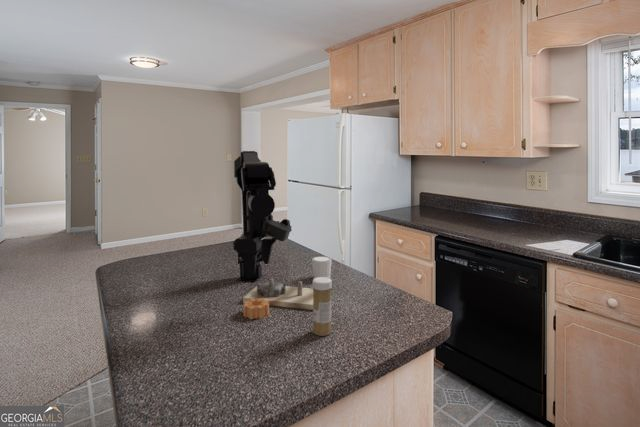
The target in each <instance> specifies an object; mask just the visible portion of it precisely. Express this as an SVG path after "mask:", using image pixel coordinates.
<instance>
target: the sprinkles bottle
mask: <svg viewBox="0 0 640 427" xmlns="http://www.w3.org/2000/svg"><path fill="white" fill-rule="evenodd" d="M332 282H333V281H332V279H331V277H330V278H327V277H317V278H314V277H313V279H312V288H313V310H312V311H313V312H312V314H313V315H312V316H313V317H312V318H313V329H312V332H313V334H314V335H316V336H320V337H324V336H325V337H326V336H329V335H330V334H332V326H331V325H332V324H331V323H332V288H333V285H332Z"/></svg>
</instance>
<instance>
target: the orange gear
mask: <svg viewBox="0 0 640 427" xmlns="http://www.w3.org/2000/svg"><path fill="white" fill-rule="evenodd" d="M242 309H243V311H242V313H243V317H244V318H249V320H253V319H259V320H261V319H263V318H264V317H266V316H267V317H268V316H269V315H270V305H269V301H268V300H265V299H263V298H259V299H250V300H248V301H245V302H244V303H243V305H242Z"/></svg>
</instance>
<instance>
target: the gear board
mask: <svg viewBox="0 0 640 427" xmlns="http://www.w3.org/2000/svg"><path fill="white" fill-rule="evenodd" d="M259 298H263V299H265V300H268V301H269V306H270V307H271V306H272V307H273V306H274V307H281V308H282V307H283V308H290V309H302V310H311V311H313V287H303V281H302V280H298V281H297V286H289V285H286V282H279V281H278V280H274V278H269V279H268V281H267V280H266V281H264V282H263V283H258V284H257V285H256V286H254V288H253V289H251V290H250V291H249V292H248V293H246V294H245V295H244V296H243V297H242V303H243V304H244V302H245V301H248V300H250V299H259Z"/></svg>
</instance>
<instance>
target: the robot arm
mask: <svg viewBox="0 0 640 427" xmlns="http://www.w3.org/2000/svg"><path fill="white" fill-rule="evenodd" d="M274 172H275V171H274V170H273V167H270V165H269V163H268V162H267V161H262V160H261V159H260V158H259V155H258V151H255V150H249V151H248V150H243V151H240V153H239V156H238V157H237V158H236V159H235V160H234V161H233V178H235V180H236V183H237V185H238V186H239V188H240V190H241V208H242V210H241V211H242V212H241V214H242V234H241V235H240V236H239V237H237V238H235V240H233V242H232V249H233V251H235V252H236V262H237V264H239V277H238V278H237V280H238V281H243V282H244V281H245V282H257V281H258V280H260V278H262V277H263V274H262V273H263V272H262V270H263V269H262V264H261V262H263V263H264V265H268V264H269V263H270V259H271V254H272V251H273V247H274V244H275V243H276V242H277V241H279V242H285V241H286V240H287V239H289V235H290V233H291V232H292V225H291V220H289V219H287V218H284V219H282V220H281V221H279V220H277V221H276V220H274V216H273V215H272V213H273V212H274V210H275V207H276V206H275V205H276V204H275V200H274V199H273V197H272V196H271V195H270V193H269V191H275V187H277V186H276V185H277V183H276V177H275V173H274Z"/></svg>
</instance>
